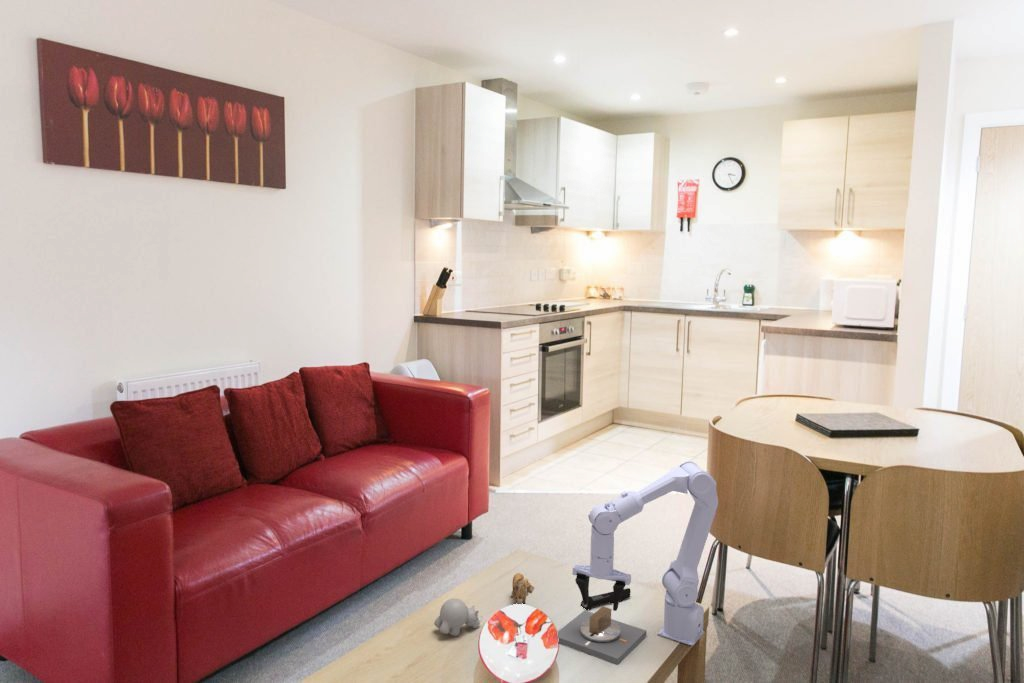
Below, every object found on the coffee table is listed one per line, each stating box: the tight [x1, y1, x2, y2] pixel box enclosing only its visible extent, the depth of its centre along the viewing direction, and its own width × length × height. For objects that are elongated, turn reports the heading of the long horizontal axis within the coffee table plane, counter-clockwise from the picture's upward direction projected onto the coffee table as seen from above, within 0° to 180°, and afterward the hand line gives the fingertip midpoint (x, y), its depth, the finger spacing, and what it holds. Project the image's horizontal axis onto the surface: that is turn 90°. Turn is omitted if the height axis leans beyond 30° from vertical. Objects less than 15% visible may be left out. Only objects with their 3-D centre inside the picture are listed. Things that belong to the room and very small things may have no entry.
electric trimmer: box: [580, 587, 631, 611], centre depth 202 cm, size 4×16×3 cm, turn 117°
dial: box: [580, 605, 620, 642], centre depth 182 cm, size 10×10×5 cm
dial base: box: [557, 609, 648, 665], centre depth 183 cm, size 18×16×2 cm
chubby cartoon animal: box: [433, 597, 483, 637], centre depth 186 cm, size 7×12×8 cm, turn 114°
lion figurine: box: [510, 572, 535, 605], centre depth 202 cm, size 15×5×9 cm, turn 14°
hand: (600, 606), depth 182 cm, fingers open, 7 cm apart
